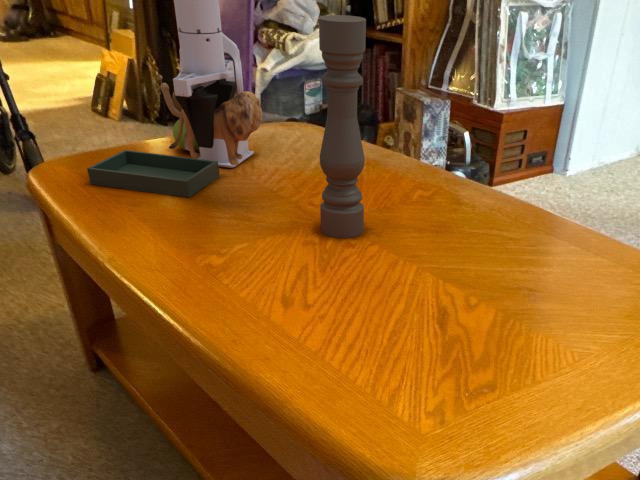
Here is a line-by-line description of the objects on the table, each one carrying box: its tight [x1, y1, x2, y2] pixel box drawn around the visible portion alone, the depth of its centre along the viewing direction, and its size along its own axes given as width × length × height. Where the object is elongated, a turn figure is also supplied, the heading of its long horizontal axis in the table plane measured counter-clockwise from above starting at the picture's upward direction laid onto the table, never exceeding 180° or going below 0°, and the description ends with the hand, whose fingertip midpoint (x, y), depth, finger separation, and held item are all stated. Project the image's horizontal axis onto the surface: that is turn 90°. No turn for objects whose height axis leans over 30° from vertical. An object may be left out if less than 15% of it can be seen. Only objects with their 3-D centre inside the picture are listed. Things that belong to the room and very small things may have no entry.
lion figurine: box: [168, 90, 263, 166], centre depth 97 cm, size 15×5×9 cm, turn 80°
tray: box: [86, 149, 220, 198], centre depth 110 cm, size 11×17×2 cm, turn 75°
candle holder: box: [318, 14, 367, 239], centre depth 89 cm, size 6×6×25 cm
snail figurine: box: [158, 74, 199, 152], centre depth 120 cm, size 5×6×12 cm
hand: (212, 142), depth 99 cm, fingers closed on lion figurine, 4 cm apart
